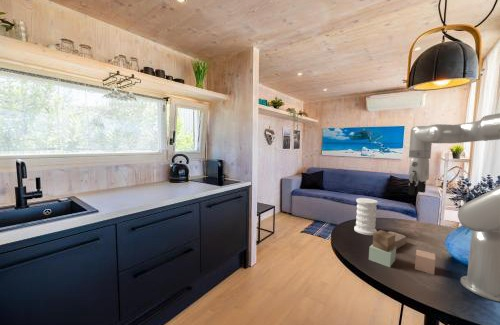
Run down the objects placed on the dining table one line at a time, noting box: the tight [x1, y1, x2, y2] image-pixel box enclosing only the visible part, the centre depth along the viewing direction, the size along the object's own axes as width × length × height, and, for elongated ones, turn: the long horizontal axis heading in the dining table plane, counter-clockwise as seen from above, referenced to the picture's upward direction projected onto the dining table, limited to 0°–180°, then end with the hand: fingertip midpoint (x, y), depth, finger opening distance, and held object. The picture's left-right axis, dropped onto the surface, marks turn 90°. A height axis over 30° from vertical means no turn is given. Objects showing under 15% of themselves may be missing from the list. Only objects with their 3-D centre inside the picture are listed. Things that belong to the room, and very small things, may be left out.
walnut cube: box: [372, 229, 395, 252], centre depth 95 cm, size 6×6×6 cm
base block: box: [368, 243, 397, 268], centre depth 96 cm, size 8×8×6 cm
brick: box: [388, 231, 407, 250], centre depth 110 cm, size 17×8×5 cm, turn 123°
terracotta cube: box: [414, 249, 436, 275], centre depth 89 cm, size 6×6×6 cm
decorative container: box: [353, 197, 379, 236], centre depth 126 cm, size 12×12×18 cm
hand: (416, 193), depth 98 cm, fingers open, 9 cm apart
